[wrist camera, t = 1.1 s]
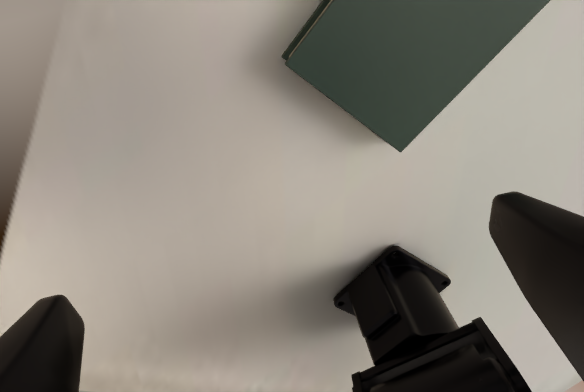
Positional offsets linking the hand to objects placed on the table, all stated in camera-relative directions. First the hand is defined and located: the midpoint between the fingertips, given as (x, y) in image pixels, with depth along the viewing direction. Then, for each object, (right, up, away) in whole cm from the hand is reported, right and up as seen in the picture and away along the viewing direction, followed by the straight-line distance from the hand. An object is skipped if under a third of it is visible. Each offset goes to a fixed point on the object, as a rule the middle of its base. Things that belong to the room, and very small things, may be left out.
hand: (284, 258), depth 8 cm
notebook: (+6, +10, +11) cm, 16 cm away
